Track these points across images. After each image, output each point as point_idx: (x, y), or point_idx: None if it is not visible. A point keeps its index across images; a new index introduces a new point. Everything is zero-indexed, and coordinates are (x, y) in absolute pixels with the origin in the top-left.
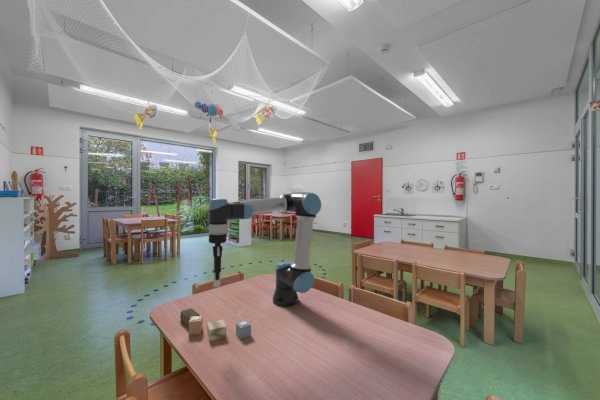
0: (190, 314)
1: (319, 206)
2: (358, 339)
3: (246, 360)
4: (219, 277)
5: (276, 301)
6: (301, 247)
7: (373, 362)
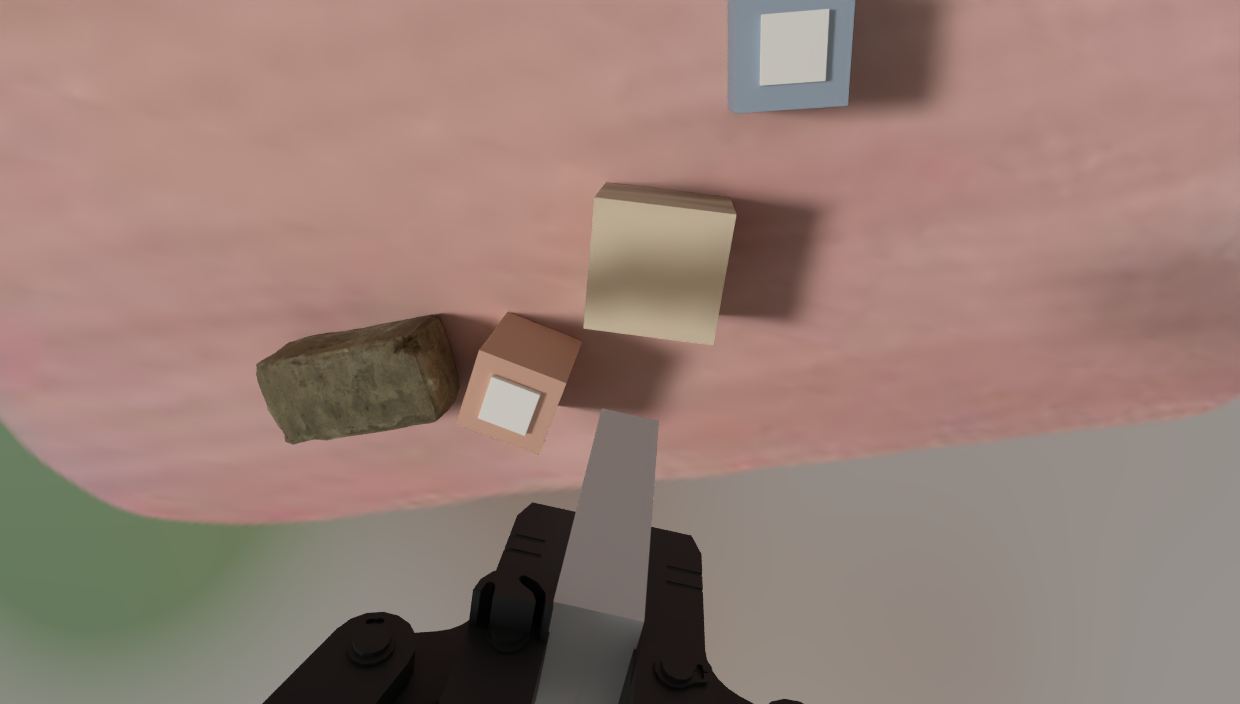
0: (378, 402)
1: None
2: None
3: (1113, 160)
4: (647, 537)
5: None
6: None
7: None
